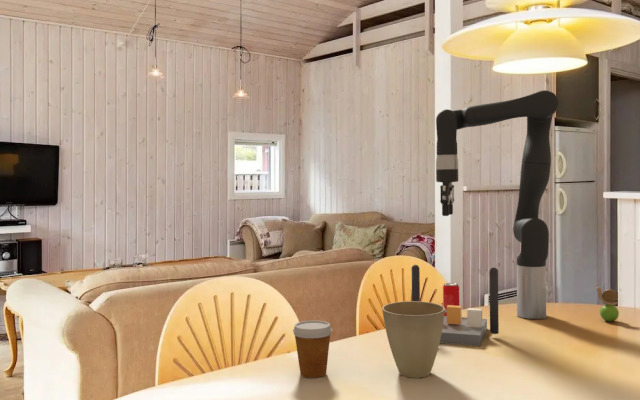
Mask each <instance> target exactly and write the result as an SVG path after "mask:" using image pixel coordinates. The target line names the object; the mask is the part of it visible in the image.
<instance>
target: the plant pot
mask: <svg viewBox="0 0 640 400" xmlns="http://www.w3.org/2000/svg"><path fill="white" fill-rule="evenodd" d="M381 310H382V316H383V323H384V327H385V332H386V336H387V341H388V345H389V349H390V351H391V355H392V357H393V359H394V362H395V365H396V367H397V371H398V373H399V374H400V375H401V376H403V377H406V378H411V379H412V378H413V379H420V378H425V377H429V376H430V375H431V372H432V369H433V366H434V365H435V360H436V358H437V353H438V351H439V347H440V344H441V343H440V339H441V334H442V328H443V320H444V313H445V308H444V307H443V305H441V304H438V303H435V302H429V301H421V300H420V301H412V300H411V301H410V300H405V301H395V302H391V303H390V302H389V303H387V304H384V305H383V306H382V309H381Z"/></svg>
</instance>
